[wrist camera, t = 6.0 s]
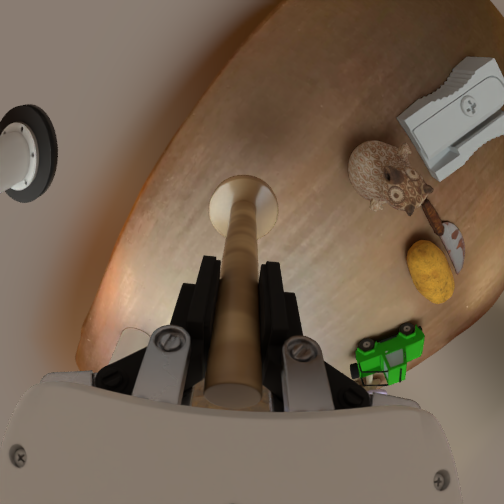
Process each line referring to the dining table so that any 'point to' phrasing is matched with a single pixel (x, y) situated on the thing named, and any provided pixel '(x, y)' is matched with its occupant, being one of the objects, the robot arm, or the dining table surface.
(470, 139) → the wedge sharpener
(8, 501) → the robot arm
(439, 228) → the kitchen knife
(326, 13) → the dining table surface
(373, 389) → the toy table
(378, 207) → the figurine
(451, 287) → the potato
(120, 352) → the cylindrical container
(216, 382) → the wooden peg stand
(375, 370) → the toy car
